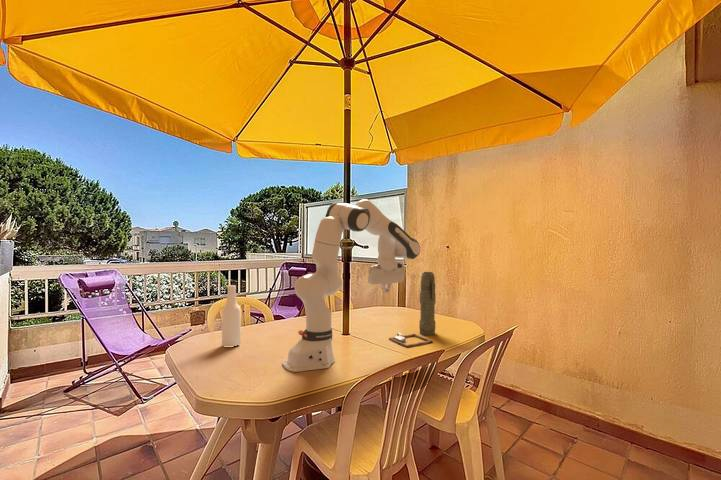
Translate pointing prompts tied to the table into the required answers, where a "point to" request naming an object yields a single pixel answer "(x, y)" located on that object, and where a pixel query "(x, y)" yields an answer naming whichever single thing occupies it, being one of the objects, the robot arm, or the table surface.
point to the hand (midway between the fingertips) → (386, 292)
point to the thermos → (427, 304)
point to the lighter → (400, 337)
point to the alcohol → (231, 319)
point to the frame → (426, 341)
